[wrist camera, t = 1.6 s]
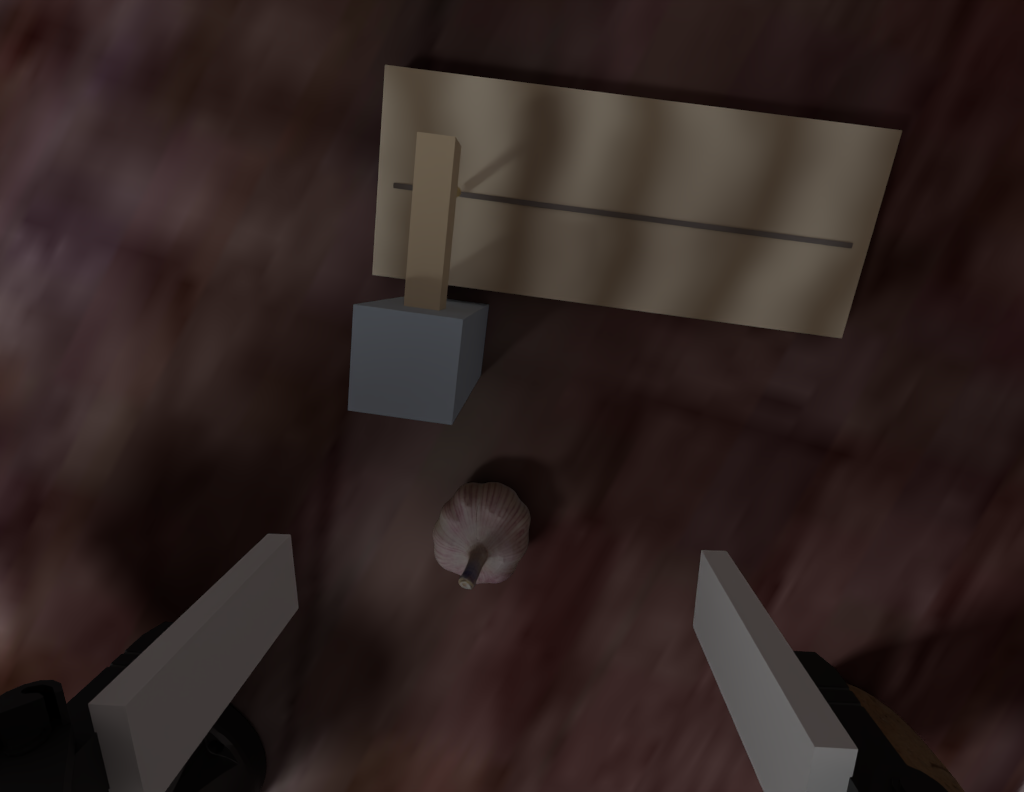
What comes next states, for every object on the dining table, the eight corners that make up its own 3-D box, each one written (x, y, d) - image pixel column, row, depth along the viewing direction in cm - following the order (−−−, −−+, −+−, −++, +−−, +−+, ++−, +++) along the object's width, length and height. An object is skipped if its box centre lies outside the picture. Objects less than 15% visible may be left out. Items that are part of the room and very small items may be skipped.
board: (381, 274, 34) (371, 274, 32) (394, 78, 31) (384, 64, 29) (824, 334, 33) (842, 338, 31) (879, 139, 30) (903, 130, 28)
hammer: (411, 365, 35) (347, 410, 24) (427, 169, 32) (363, 108, 20) (480, 375, 35) (451, 425, 24) (503, 179, 32) (483, 124, 20)
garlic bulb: (457, 573, 39) (437, 647, 31) (419, 492, 38) (388, 549, 30) (547, 543, 38) (549, 612, 30) (512, 459, 37) (505, 509, 29)
